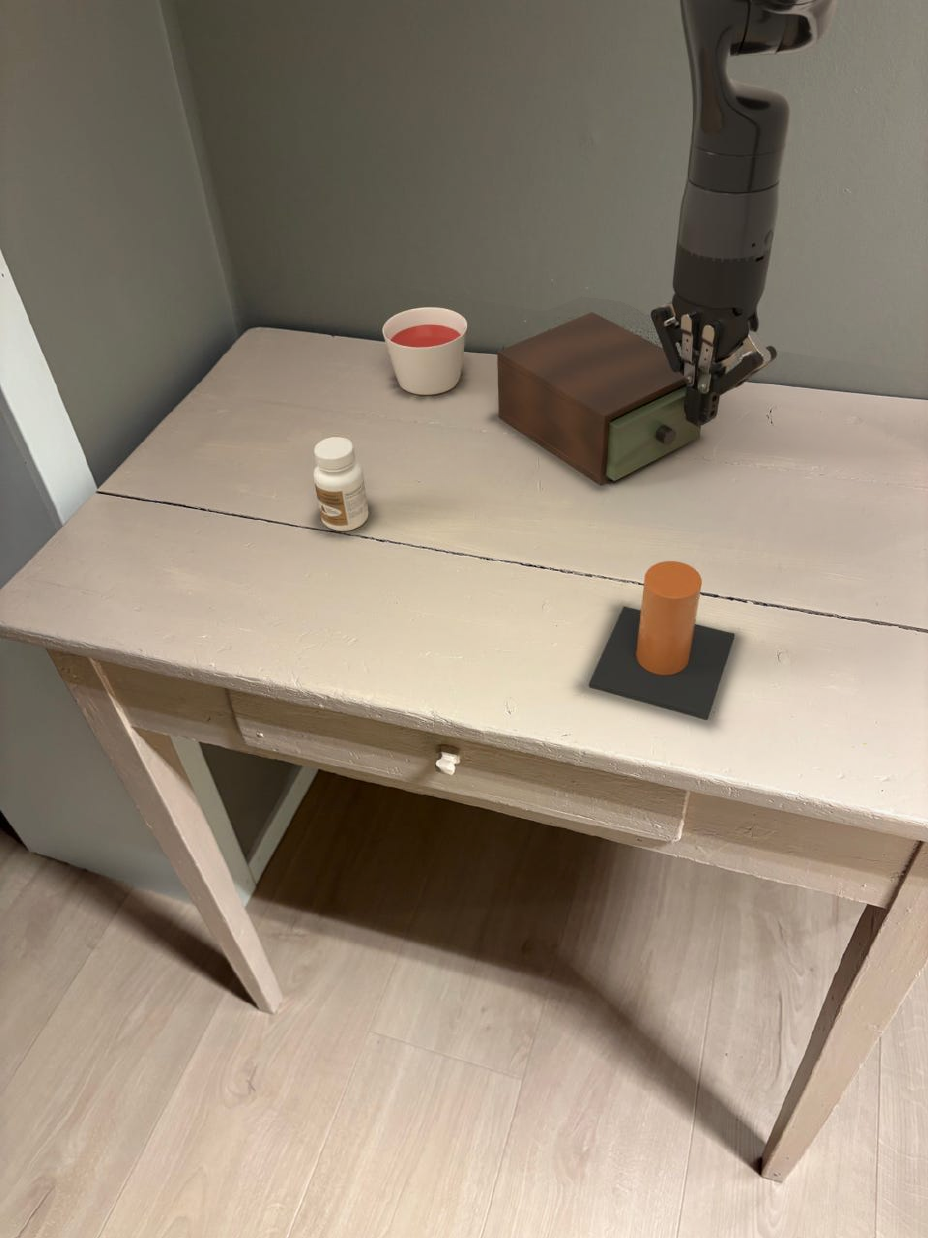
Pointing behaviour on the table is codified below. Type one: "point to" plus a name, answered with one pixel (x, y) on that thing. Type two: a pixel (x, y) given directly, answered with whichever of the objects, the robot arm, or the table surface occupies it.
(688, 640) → the spice tin
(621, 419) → the drawer
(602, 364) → the cabinet
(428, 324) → the candle
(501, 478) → the table surface
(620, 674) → the mat
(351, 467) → the pill bottle
